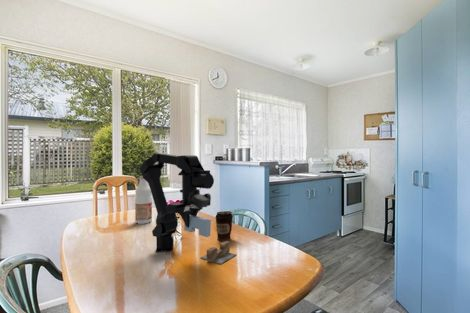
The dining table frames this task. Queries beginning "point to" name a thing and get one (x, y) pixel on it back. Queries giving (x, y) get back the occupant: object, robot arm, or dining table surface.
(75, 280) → the dining table surface
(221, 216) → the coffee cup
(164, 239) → the robot arm
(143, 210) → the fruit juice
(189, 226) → the pale blue slat
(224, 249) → the slotted base
